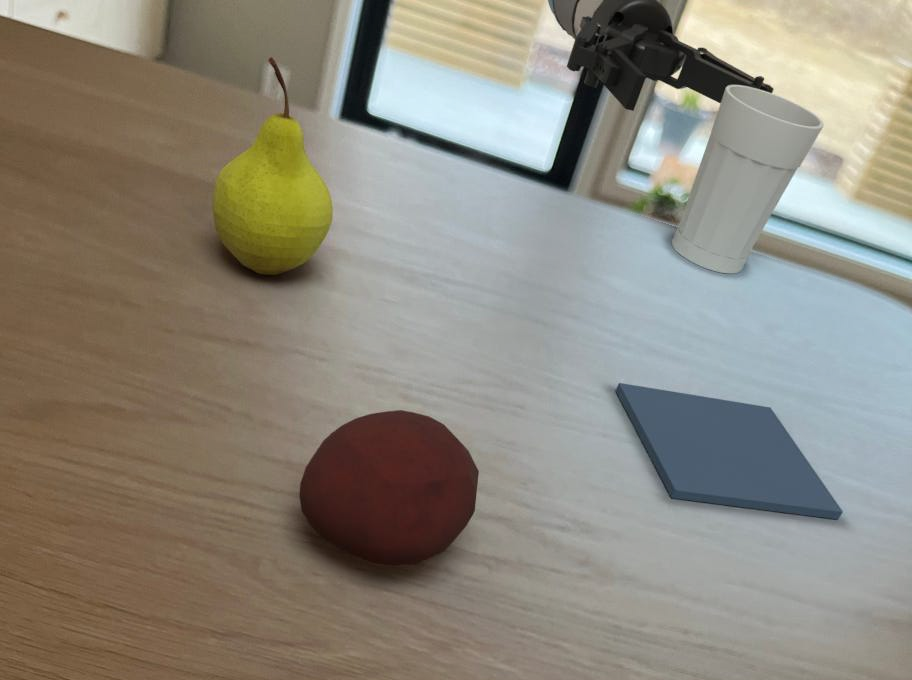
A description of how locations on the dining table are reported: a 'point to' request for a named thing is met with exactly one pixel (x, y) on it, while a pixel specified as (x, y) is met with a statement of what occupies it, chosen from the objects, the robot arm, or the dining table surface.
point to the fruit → (272, 199)
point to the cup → (743, 175)
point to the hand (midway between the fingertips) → (706, 110)
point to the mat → (725, 453)
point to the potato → (390, 488)
